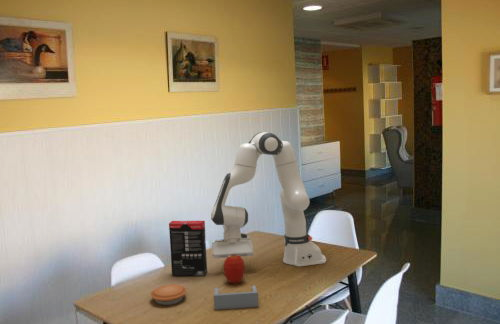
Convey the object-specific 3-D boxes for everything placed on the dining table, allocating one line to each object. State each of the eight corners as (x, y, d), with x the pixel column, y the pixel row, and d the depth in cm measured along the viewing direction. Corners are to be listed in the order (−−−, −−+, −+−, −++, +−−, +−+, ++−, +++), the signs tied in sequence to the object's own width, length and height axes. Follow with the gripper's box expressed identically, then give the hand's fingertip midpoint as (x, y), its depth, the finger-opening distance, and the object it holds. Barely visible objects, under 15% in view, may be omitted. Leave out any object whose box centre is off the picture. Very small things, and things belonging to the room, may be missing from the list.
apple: (235, 276, 226) (234, 248, 224) (250, 281, 219) (248, 252, 217) (219, 282, 219) (217, 254, 217) (234, 288, 211) (232, 258, 210)
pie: (171, 290, 213) (170, 279, 212) (194, 297, 203) (193, 286, 203) (143, 301, 201) (142, 290, 201) (167, 310, 191) (166, 299, 191)
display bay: (255, 291, 206) (255, 278, 205) (258, 306, 191) (257, 292, 190) (215, 294, 205) (214, 281, 204) (214, 309, 190) (213, 295, 189)
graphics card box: (208, 271, 234) (205, 219, 231) (205, 276, 227) (202, 222, 224) (175, 272, 236) (171, 219, 232) (171, 277, 229) (167, 223, 225)
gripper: (211, 237, 231) (212, 262, 223) (252, 234, 232) (254, 260, 224) (212, 243, 236) (212, 268, 228) (252, 240, 237) (254, 265, 229)
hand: (233, 264), depth 226 cm, fingers closed
